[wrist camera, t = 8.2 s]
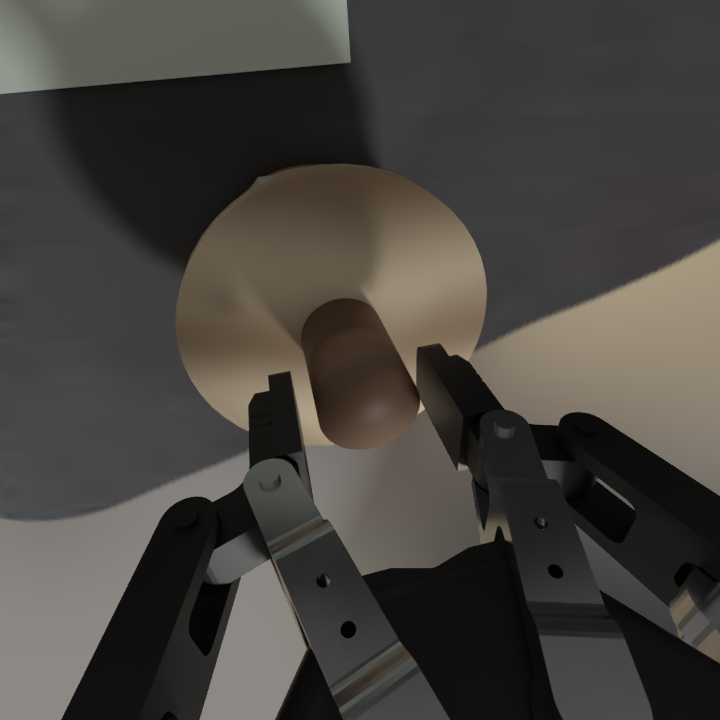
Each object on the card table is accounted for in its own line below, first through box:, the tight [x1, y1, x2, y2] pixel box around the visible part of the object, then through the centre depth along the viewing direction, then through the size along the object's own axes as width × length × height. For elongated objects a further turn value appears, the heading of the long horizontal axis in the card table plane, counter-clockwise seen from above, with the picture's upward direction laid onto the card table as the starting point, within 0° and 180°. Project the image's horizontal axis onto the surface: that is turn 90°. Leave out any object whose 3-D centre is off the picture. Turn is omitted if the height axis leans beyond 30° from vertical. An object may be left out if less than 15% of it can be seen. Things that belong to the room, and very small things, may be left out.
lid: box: [176, 163, 487, 449], centre depth 15 cm, size 12×12×6 cm
